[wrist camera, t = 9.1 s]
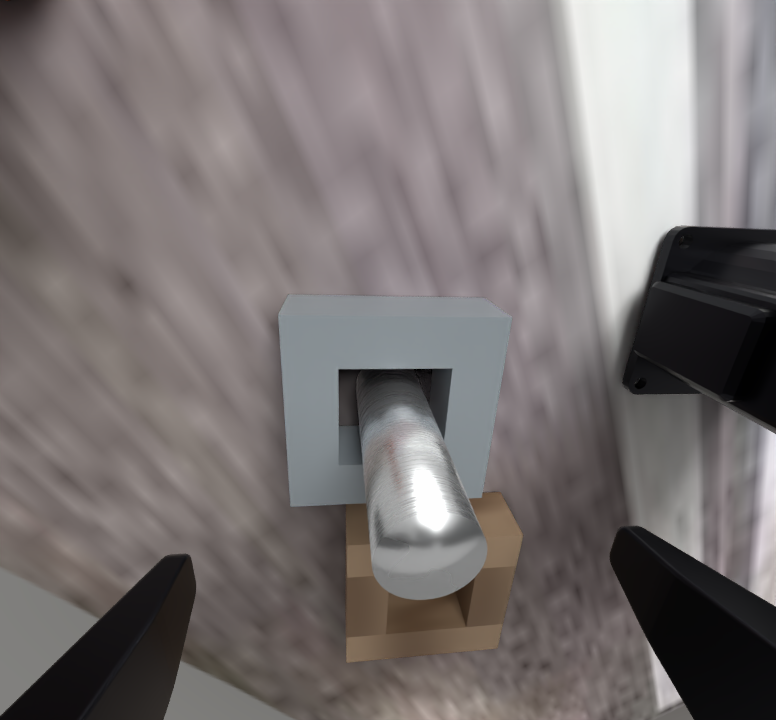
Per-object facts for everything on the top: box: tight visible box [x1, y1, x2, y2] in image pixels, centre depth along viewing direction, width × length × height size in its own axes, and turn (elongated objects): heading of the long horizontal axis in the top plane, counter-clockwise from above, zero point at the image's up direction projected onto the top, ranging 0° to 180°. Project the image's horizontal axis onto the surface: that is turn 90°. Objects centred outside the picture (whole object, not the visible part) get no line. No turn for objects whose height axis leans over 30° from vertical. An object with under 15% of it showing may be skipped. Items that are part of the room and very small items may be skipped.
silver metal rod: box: [356, 369, 487, 600], centre depth 12 cm, size 2×2×8 cm
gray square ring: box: [278, 294, 512, 507], centre depth 14 cm, size 7×7×2 cm
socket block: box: [345, 492, 523, 663], centre depth 18 cm, size 7×7×2 cm
